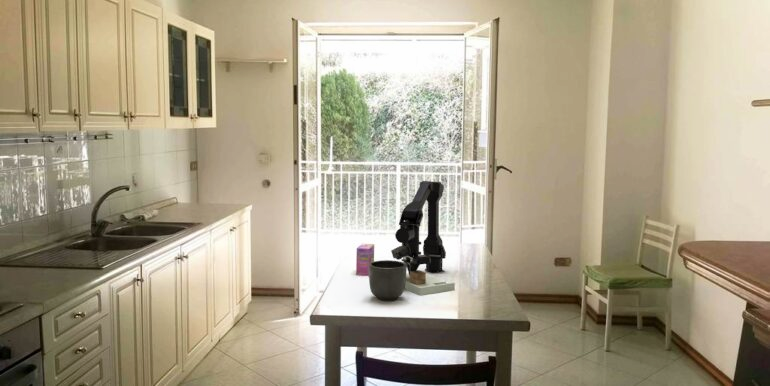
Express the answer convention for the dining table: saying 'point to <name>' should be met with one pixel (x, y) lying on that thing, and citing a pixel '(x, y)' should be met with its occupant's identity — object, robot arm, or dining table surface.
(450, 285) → the trap tray
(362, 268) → the box
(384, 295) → the planter
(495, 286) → the dining table surface
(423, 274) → the block
